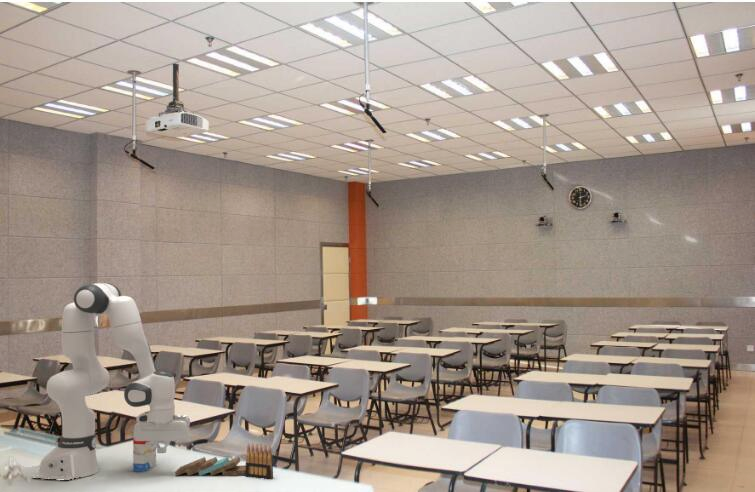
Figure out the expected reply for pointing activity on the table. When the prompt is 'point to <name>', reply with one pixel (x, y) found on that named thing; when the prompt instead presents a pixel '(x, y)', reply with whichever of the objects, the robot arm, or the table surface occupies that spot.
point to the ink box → (143, 455)
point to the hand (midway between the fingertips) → (161, 452)
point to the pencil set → (259, 462)
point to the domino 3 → (215, 466)
